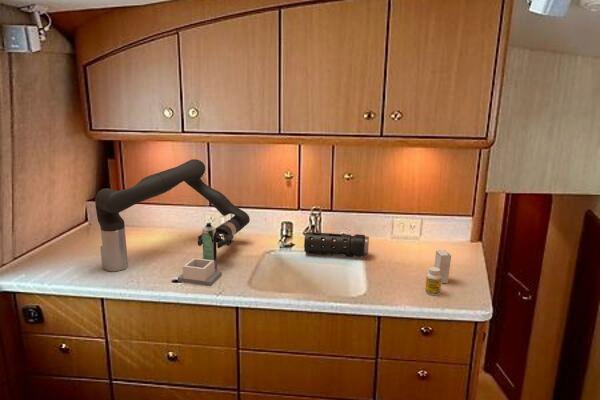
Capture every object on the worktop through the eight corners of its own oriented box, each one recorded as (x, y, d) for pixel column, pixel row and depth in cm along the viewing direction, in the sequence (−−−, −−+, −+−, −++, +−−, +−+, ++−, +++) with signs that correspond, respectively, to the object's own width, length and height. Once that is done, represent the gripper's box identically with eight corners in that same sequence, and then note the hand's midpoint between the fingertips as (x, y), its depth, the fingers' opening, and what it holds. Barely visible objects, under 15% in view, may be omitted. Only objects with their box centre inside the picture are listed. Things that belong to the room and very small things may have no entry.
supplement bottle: (439, 290, 187) (441, 266, 185) (440, 296, 182) (443, 272, 179) (424, 289, 188) (426, 265, 185) (425, 295, 183) (427, 271, 180)
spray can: (219, 269, 204) (218, 223, 199) (209, 272, 200) (207, 226, 195) (211, 265, 208) (209, 220, 202) (201, 269, 204) (199, 223, 198)
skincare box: (432, 277, 198) (434, 249, 195) (443, 277, 198) (446, 249, 195) (437, 284, 192) (440, 255, 189) (448, 283, 193) (451, 254, 189)
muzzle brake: (306, 249, 227) (307, 228, 224) (368, 253, 223) (369, 232, 220) (303, 257, 218) (304, 235, 215) (367, 261, 214) (368, 239, 211)
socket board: (177, 281, 192) (176, 265, 190) (190, 271, 202) (189, 256, 200) (210, 285, 188) (210, 270, 187) (221, 275, 198) (221, 260, 196)
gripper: (209, 222, 216) (192, 234, 201) (239, 225, 213) (224, 237, 197) (209, 239, 218) (192, 251, 203) (240, 242, 214) (224, 255, 199)
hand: (208, 244), depth 200 cm, fingers open, 8 cm apart
